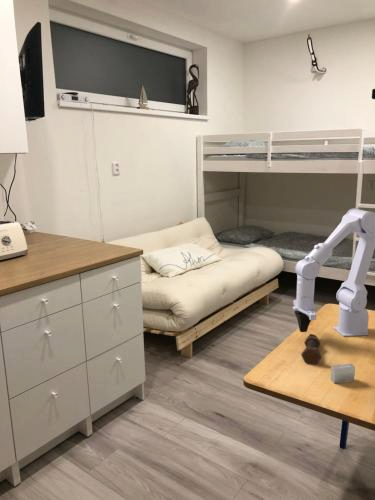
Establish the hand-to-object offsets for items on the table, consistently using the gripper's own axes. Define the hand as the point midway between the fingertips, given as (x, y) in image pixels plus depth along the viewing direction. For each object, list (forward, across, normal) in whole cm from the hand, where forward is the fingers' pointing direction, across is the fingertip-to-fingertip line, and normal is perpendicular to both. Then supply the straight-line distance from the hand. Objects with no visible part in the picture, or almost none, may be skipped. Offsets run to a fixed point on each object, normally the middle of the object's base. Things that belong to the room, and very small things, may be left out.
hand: (303, 331), depth 143 cm
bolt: (+3, +11, -2) cm, 12 cm away
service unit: (+2, +28, 0) cm, 28 cm away
